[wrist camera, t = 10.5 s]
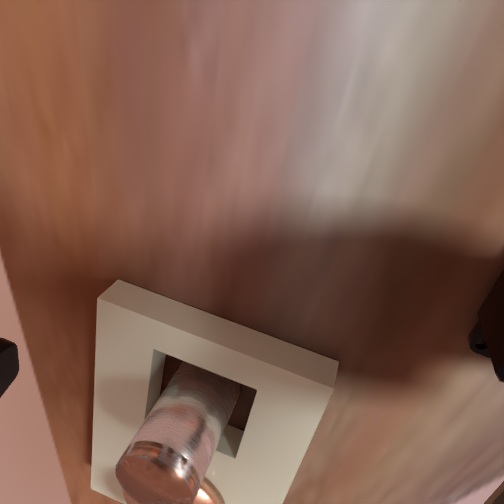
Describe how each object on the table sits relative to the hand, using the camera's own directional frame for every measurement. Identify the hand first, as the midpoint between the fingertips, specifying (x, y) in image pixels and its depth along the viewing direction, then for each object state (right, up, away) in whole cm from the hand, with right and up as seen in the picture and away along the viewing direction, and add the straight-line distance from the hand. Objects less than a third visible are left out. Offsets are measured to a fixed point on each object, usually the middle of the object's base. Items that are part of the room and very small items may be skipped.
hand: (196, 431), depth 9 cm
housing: (-2, -7, +19) cm, 20 cm away
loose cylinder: (-1, -4, +17) cm, 17 cm away
